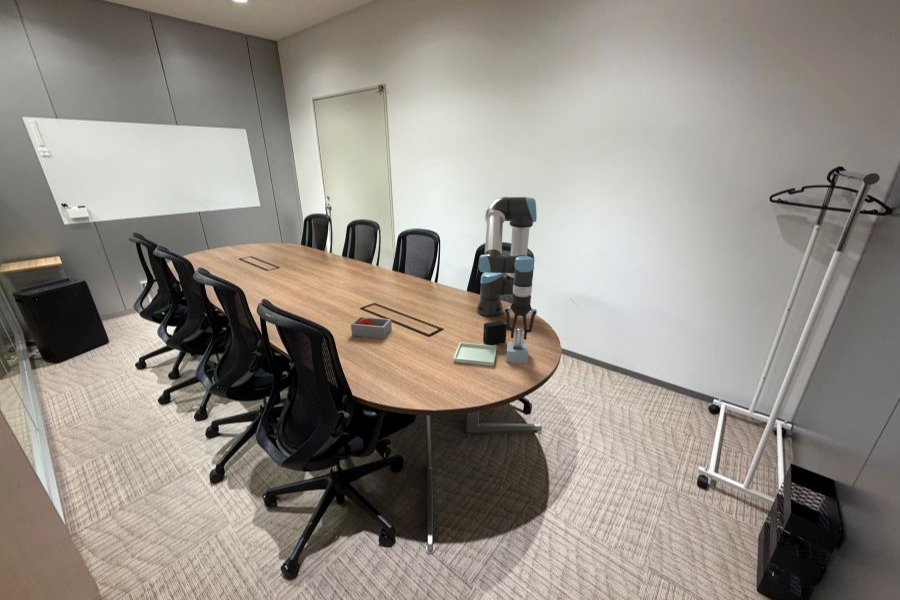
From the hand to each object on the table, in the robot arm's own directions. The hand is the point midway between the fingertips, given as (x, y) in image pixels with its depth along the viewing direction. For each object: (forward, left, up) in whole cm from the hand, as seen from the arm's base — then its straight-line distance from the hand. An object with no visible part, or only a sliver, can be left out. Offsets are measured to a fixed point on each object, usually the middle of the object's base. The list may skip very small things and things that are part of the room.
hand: (517, 345), depth 157 cm
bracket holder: (-10, -72, -6) cm, 73 cm away
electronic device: (-12, -11, -6) cm, 17 cm away
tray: (+2, -18, -6) cm, 19 cm away
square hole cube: (0, 0, -6) cm, 6 cm away
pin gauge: (0, 0, -4) cm, 4 cm away
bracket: (-11, -72, -7) cm, 74 cm away
